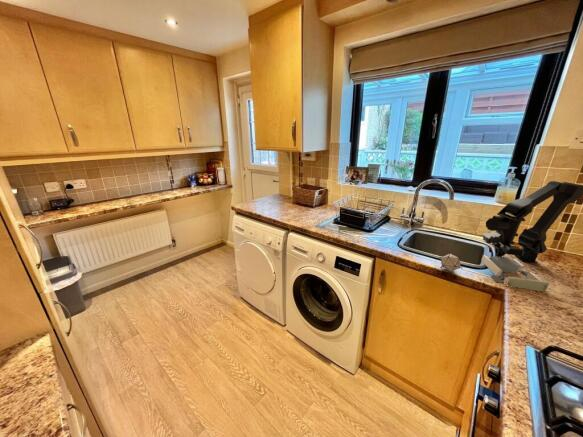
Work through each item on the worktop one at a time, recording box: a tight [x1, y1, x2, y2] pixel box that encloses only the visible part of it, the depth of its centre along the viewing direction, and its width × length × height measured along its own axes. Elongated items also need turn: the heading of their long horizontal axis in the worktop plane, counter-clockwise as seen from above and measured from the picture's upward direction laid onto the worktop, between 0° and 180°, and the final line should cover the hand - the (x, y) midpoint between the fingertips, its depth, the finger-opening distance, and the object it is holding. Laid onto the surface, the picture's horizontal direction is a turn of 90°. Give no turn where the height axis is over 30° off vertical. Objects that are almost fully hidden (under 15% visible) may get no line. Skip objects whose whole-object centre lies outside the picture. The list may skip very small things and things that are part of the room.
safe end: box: [505, 275, 550, 292], centre depth 95 cm, size 1×13×4 cm, turn 77°
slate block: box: [490, 255, 519, 274], centre depth 109 cm, size 7×7×4 cm
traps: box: [491, 270, 529, 284], centre depth 102 cm, size 6×22×1 cm, turn 101°
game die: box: [438, 251, 463, 274], centre depth 105 cm, size 9×8×10 cm
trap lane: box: [481, 254, 549, 292], centre depth 104 cm, size 20×13×3 cm
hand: (496, 258), depth 114 cm, fingers closed
